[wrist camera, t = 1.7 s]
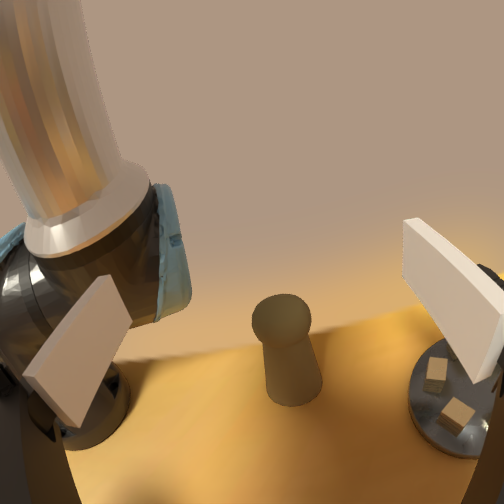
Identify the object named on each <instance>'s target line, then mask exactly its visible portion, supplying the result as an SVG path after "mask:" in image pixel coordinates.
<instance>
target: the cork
mask: <svg viewBox="0 0 504 504" xmlns="http://www.w3.org/2000/svg"><path fill="white" fill-rule="evenodd" d="M310 326H311V314H310V310H309V307H308V306H307V304H306V303H305V302H304V301H303V300H302V299H301V298H299V297H297V296H296V295H291V294H279V295H274V296H271V297H268V298H266V299H264V300H263V301H261V302H260V303H259V304H258V305H257V306H256V308H255V310H254V312H253V314H252V328H253V330H254V333H255V335H256V336H257V338H258V339H259V340H260V341H261V342H262V343H263V353H264V365H265V376H266V388H267V393H268V395H269V397H270V398H271V399H272V400H273V401H274V402H275V403H278V404H280V405H282V406H290V407H293V406H300V405H303V404H305V403H308V402H310V401H311V400H312V399H314V398H315V397H316V396H317V395H318V393H319V392H320V390H321V387H322V378H321V374H320V371H319V368H318V364H317V361H316V358H315V355H314V352H313V349H312V345H311V342H310V339H309V336H308V332H309V330H310Z"/></svg>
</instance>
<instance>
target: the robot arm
mask: <svg viewBox="0 0 504 504" xmlns="http://www.w3.org/2000/svg"><path fill="white" fill-rule="evenodd" d="M0 161H1V163H2V166H3V168H4V170H5V172H6V174H7V176H8V178H9V180H10V182H11V184H12V186H13V188H14V190H15V192H16V193H17V195H18V197H19V199H20V201H21V203H22V205H23V206H24V208H25V210H26V211H27V213H28V216H27V221H26V223H25V222H23V223H21V224H20V225H18V226H17V227H15V228H14V229H12V230H11V231H10V232H8V233H7V234H6V235H4V236H3V237H2V238H0V504H82V503H81V500H80V498H79V495H78V492H77V489H76V486H75V483H74V480H73V477H72V474H71V471H70V467H69V464H68V460H67V457H66V453H65V450H71V451H76V450H83V449H87V448H90V447H92V446H94V445H96V444H98V443H100V442H102V441H103V440H104V439H106V438H107V437H108V436H109V435H110V434H112V432H113V431H114V430H115V429H116V428H117V427H118V426H119V424H120V423H121V421H122V420H123V418H124V416H125V414H126V412H127V409H128V406H129V401H130V388H129V384H128V381H127V380H126V378H125V377H124V375H123V374H122V372H121V371H120V369H119V368H118V367H117V366H116V364H115V363H113V362H112V360H113V358H114V356H115V354H116V351H117V350H118V348H119V346H120V344H121V342H122V340H123V338H124V337H125V334H126V333H127V331H128V329H131V328H135V327H138V326H142V325H145V324H149V323H152V322H153V323H155V322H158V321H159V320H160V319H161V318H163V317H166V316H168V315H171V314H173V313H176V312H178V311H181V310H183V309H184V308H185V307H187V305H188V304H189V302H190V300H191V296H192V287H191V281H190V274H189V269H188V264H187V259H186V254H185V249H184V245H183V242H182V239H181V238H182V236H181V231H180V225H179V220H178V215H177V210H176V206H175V202H174V198H173V194H172V191H171V188H170V187H169V186H168V185H166V184H154V185H153V186H151V183H150V180H149V177H148V174H147V172H146V171H145V169H144V168H143V167H142V166H140V165H139V164H136V163H133V162H130V161H128V160H124V159H123V158H122V157H121V155H120V152H119V149H118V146H117V143H116V140H115V137H114V133H113V130H112V127H111V124H110V121H109V117H108V114H107V111H106V108H105V104H104V101H103V97H102V93H101V90H100V86H99V82H98V79H97V75H96V71H95V67H94V63H93V59H92V55H91V50H90V46H89V41H88V37H87V32H86V27H85V22H84V17H83V12H82V6H81V0H0ZM402 277H403V278H404V280H405V281H406V282H407V284H408V285H409V286H410V288H411V289H412V291H413V292H414V293H415V295H416V296H417V297H418V299H419V300H420V302H421V303H422V304H423V306H424V307H425V309H426V310H427V312H428V313H429V314H430V316H431V317H432V319H433V320H434V322H435V323H436V325H437V326H438V328H439V329H440V331H441V332H442V334H443V335H444V337H445V338H446V340H447V341H448V343H449V345H450V346H451V348H452V349H453V351H454V352H455V354H456V356H457V357H458V359H459V361H460V362H461V364H462V365H463V367H464V369H465V371H466V372H467V374H468V376H469V377H470V379H471V381H472V383H473V384H475V383H477V382H479V381H481V380H484V379H486V378H488V377H490V376H491V375H492V373H493V371H494V369H495V366H496V364H497V363H498V364H499V366H500V367H501V369H502V371H501V373H500V375H499V377H498V379H497V381H496V383H495V384H494V386H493V388H492V391H491V393H494V391H495V389H496V388H497V391H496V396H495V401H494V406H493V410H492V415H491V419H490V423H489V427H488V430H487V434H486V438H485V441H484V444H483V448H482V451H481V454H480V457H479V460H478V463H477V466H476V468H475V471H474V474H473V476H472V479H471V481H470V484H469V486H468V489H467V491H466V493H465V496H464V498H463V500H462V502H461V504H504V281H503V280H502V279H500V277H499V276H498V275H497V274H496V273H494V272H493V271H492V270H491V269H489V268H487V267H485V266H483V265H481V264H477V265H476V264H474V263H473V262H472V261H471V260H470V259H469V258H468V257H467V256H465V255H464V254H463V253H462V252H461V251H460V250H458V249H457V248H456V247H455V246H453V245H452V244H451V243H450V242H449V241H448V240H446V239H445V238H444V237H443V236H441V235H440V234H439V233H437V232H436V231H435V230H434V229H433V228H431V227H430V226H428V225H427V224H426V223H424V222H423V221H422V220H421V219H419V218H413V219H407V220H403V271H402Z"/></svg>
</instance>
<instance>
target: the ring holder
mask: <svg viewBox="0 0 504 504" xmlns="http://www.w3.org/2000/svg"><path fill="white" fill-rule="evenodd" d="M501 371H502V369H501V367H500V366H499V364H498V363H497V364H496V366H495V369H494V371H493V373H492V375H491V376H490V377H488V378H486V379H484V380H481V381H479V382H477V383H475V384H473V383H472V381H471V379H470V377H469V376H468V374H467V372H466V371H465V369H464V367H463V365H462V364H461V362H460V361H459V359H458V357H457V356H456V354H455V352H454V351H453V349H452V348H451V346H450V345H449V343H448V341H447V340H446V338H444V339H442V340H440V341H438V342H437V343H435V344H434V345H432V346H431V347H430V348H429V349H428V350H427V351H425V353H424V354H423V355H422V356H421V357H420V359H419V360H418V362H417V363H416V365H415V368H414V370H413V373H412V376H411V379H410V383H409V389H408V405H409V411H410V414H411V417H412V420H413V422H414V424H415V426H416V428H417V429H418V431H419V432H420V434H421V435H422V436H423V437H424V438H425V439H426V441H428V442H429V443H430V444H431V445H432V446H433V447H435V448H437V449H438V450H440V451H441V452H443V453H446V454H448V455H450V456H454V457H458V458H463V459H479V457H480V454H481V451H482V448H483V444H484V441H485V438H486V434H487V430H488V427H489V423H490V419H491V415H492V410H493V406H494V401H495V396H496V391H497V388H496V389H495V391H494V393H491V391H492V388H493V386H494V384H495V383H496V381H497V379H498V377H499V375H500V373H501Z"/></svg>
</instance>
